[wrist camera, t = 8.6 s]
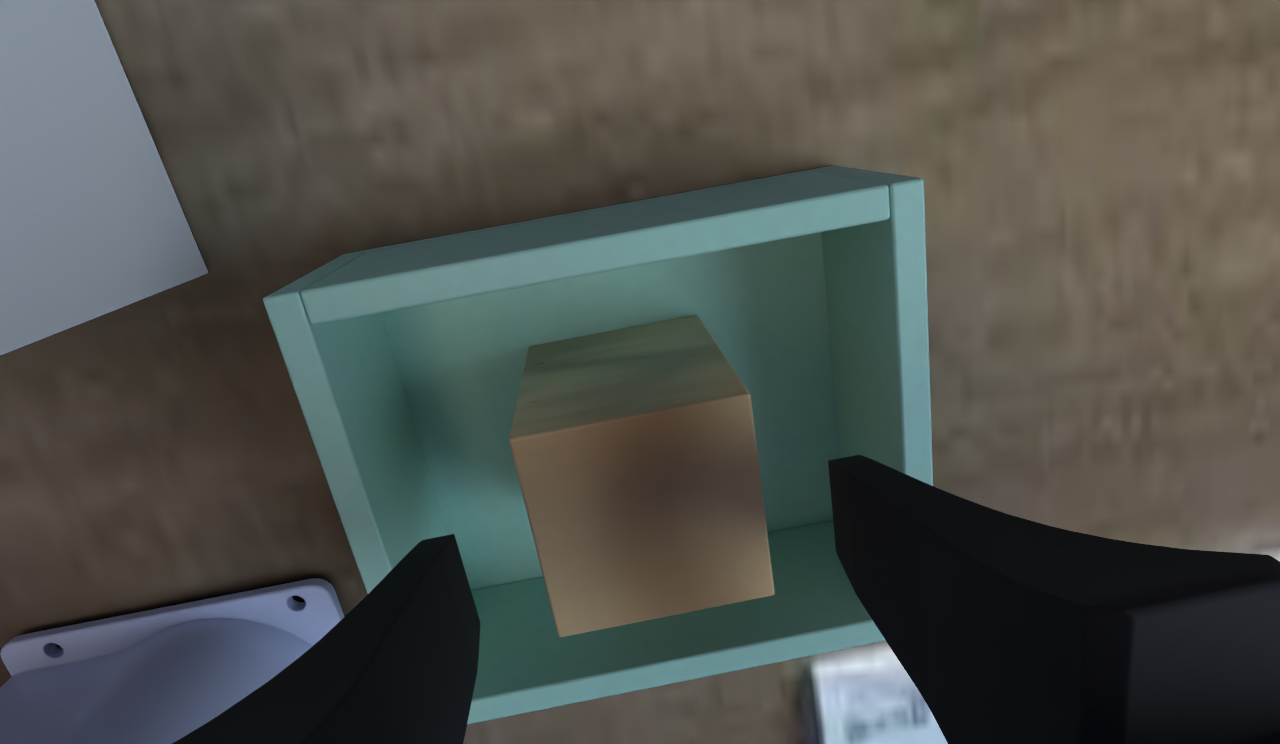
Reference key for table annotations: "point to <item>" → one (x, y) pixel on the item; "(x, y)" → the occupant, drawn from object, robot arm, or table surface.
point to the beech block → (640, 476)
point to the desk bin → (601, 302)
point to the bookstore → (77, 179)
